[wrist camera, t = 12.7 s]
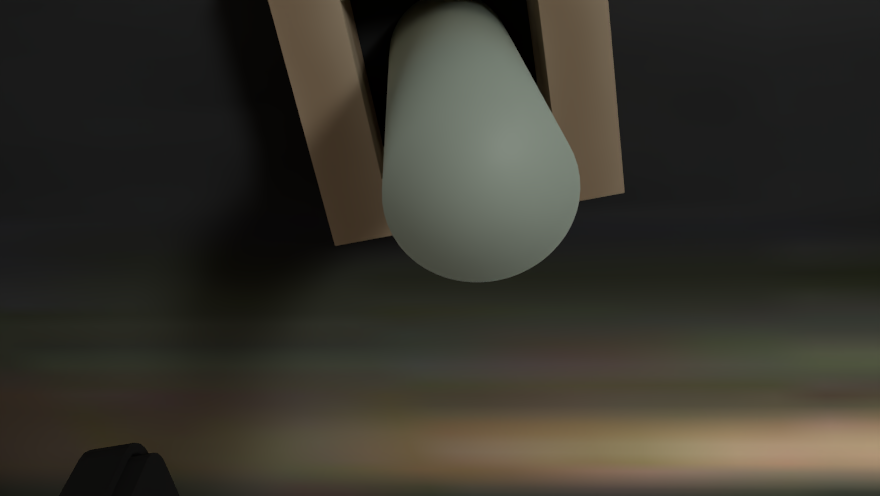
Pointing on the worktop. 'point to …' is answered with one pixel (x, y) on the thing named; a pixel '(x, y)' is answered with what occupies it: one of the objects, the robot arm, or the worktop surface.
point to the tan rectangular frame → (354, 118)
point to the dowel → (471, 148)
